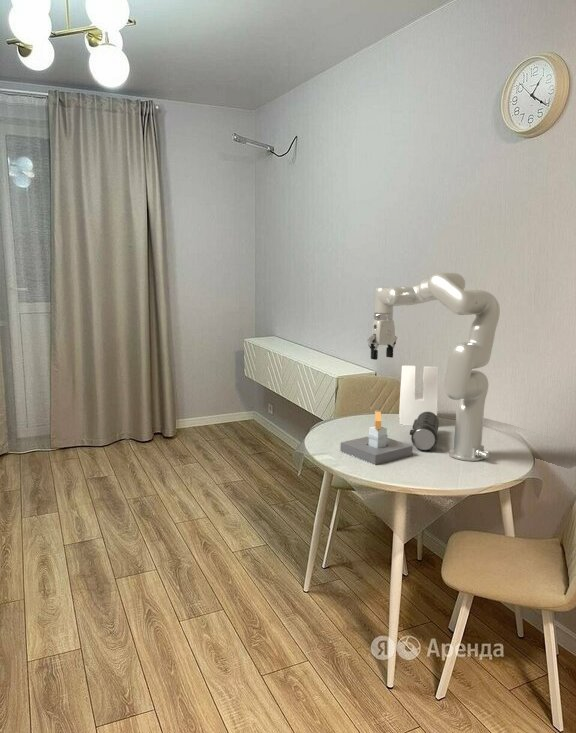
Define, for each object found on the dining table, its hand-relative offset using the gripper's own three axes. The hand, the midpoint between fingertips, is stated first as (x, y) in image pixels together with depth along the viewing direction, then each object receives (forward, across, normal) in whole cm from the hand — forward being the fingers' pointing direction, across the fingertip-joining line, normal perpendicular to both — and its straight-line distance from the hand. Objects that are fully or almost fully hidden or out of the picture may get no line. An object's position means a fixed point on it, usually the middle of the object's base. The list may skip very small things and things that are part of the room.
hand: (381, 358), depth 238 cm
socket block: (+31, -26, -21) cm, 45 cm away
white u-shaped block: (+31, +25, -1) cm, 40 cm away
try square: (+27, -23, -19) cm, 40 cm away
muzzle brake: (+26, -2, -18) cm, 32 cm away
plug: (+31, -26, -22) cm, 46 cm away
